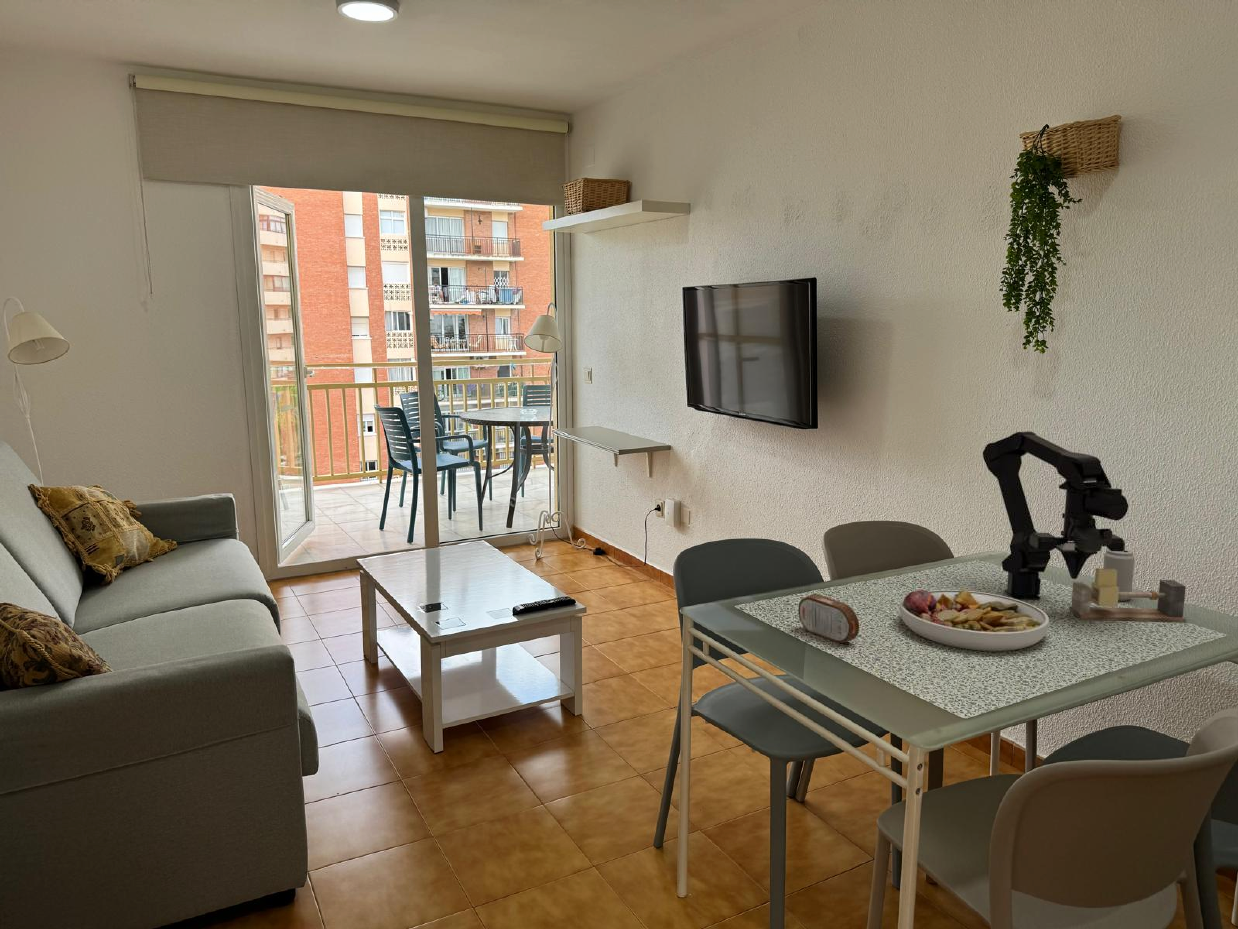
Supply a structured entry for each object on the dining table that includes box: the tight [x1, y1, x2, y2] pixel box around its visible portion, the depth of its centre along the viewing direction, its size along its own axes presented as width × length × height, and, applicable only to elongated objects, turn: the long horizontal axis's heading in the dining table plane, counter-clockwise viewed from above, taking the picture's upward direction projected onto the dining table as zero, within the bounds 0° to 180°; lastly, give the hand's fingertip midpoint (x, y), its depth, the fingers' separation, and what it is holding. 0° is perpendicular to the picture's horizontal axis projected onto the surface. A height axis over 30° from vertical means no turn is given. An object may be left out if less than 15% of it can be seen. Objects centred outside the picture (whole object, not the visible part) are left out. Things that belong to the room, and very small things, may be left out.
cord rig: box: [1068, 579, 1187, 623], centre depth 199 cm, size 22×7×8 cm, turn 85°
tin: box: [798, 593, 860, 644], centre depth 185 cm, size 15×3×8 cm, turn 35°
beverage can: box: [1102, 548, 1135, 602], centre depth 212 cm, size 6×6×12 cm
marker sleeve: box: [1090, 568, 1119, 608], centre depth 199 cm, size 4×4×8 cm
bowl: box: [899, 589, 1050, 652], centre depth 189 cm, size 30×30×8 cm
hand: (1073, 578), depth 199 cm, fingers closed
